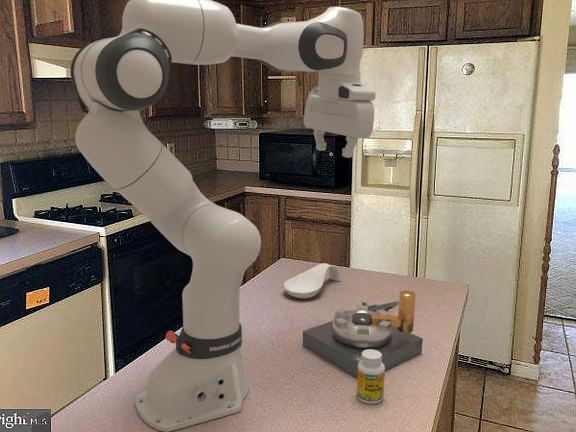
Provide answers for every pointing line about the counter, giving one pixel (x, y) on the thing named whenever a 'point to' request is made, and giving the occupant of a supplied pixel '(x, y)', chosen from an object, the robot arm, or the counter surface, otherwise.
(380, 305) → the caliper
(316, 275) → the spoon rest
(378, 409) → the counter surface
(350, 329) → the rotary crank dial
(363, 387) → the supplement bottle
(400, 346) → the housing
